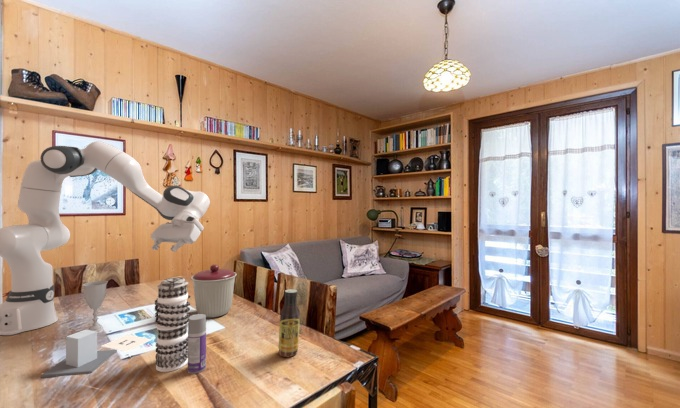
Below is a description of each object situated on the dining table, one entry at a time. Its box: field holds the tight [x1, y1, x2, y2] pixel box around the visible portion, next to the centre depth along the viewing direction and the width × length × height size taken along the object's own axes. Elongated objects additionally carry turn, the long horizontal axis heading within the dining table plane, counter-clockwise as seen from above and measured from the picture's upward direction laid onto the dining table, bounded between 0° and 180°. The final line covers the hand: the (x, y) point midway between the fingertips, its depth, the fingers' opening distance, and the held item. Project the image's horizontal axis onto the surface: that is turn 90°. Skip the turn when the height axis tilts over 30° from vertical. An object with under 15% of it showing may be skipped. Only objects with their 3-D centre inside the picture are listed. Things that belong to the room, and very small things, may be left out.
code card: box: [101, 334, 153, 353], centre depth 98 cm, size 12×9×1 cm
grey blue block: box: [65, 329, 98, 367], centre depth 86 cm, size 5×5×8 cm
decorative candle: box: [154, 276, 191, 373], centre depth 86 cm, size 9×9×25 cm
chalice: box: [82, 280, 109, 334], centre depth 107 cm, size 7×7×18 cm
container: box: [187, 313, 207, 375], centre depth 83 cm, size 5×5×15 cm
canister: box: [190, 264, 237, 319], centre depth 126 cm, size 18×18×21 cm
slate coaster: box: [40, 349, 118, 379], centre depth 86 cm, size 12×12×1 cm
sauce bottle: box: [278, 288, 300, 358], centre depth 93 cm, size 7×6×20 cm
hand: (163, 249), depth 113 cm, fingers open, 8 cm apart
